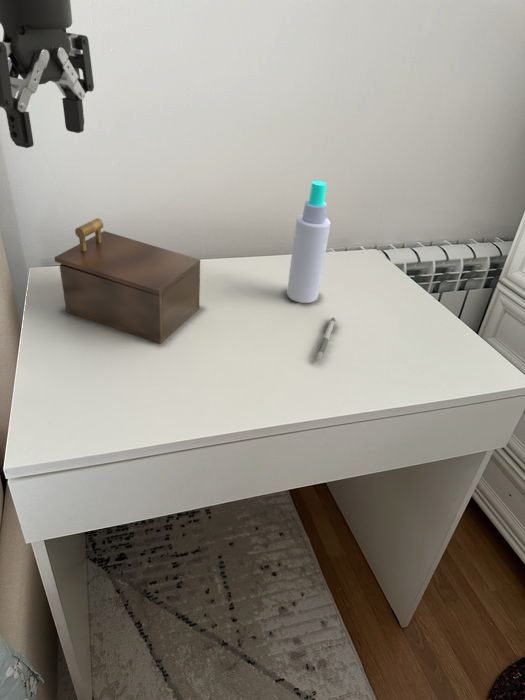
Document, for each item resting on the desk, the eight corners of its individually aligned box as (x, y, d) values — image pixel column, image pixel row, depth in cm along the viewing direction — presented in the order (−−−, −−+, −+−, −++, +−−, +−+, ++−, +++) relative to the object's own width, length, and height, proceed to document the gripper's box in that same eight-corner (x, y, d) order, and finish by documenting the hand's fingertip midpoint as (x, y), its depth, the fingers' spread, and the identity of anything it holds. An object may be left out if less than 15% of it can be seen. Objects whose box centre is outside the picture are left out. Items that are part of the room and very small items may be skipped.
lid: (54, 261, 86) (50, 232, 83) (104, 234, 96) (102, 208, 93) (159, 295, 81) (158, 266, 78) (200, 263, 91) (201, 236, 88)
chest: (66, 311, 91) (59, 264, 86) (112, 281, 101) (108, 237, 96) (160, 344, 86) (159, 296, 81) (199, 308, 96) (200, 264, 91)
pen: (335, 322, 96) (337, 316, 95) (319, 366, 85) (321, 358, 84) (330, 321, 96) (331, 315, 95) (313, 364, 85) (314, 357, 84)
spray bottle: (323, 296, 104) (343, 184, 91) (306, 307, 100) (324, 191, 87) (298, 285, 106) (314, 174, 94) (280, 295, 102) (294, 181, 90)
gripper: (48, -31, 60) (66, 122, 69) (-62, -38, 49) (-23, 145, 58) (103, -24, 58) (114, 133, 67) (2, -30, 47) (32, 158, 56)
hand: (50, 138), depth 63 cm, fingers open, 8 cm apart
